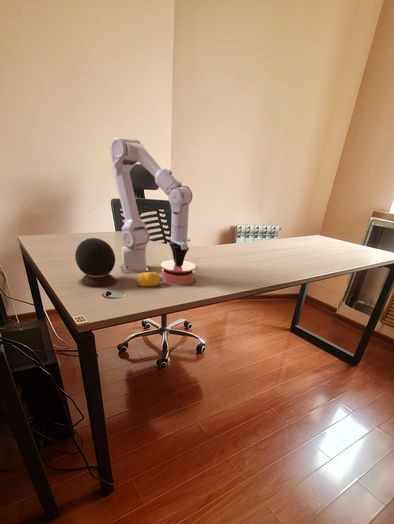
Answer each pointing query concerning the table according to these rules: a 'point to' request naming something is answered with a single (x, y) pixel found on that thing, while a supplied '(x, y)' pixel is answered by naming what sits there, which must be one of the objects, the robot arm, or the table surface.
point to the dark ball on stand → (95, 262)
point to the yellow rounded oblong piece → (148, 279)
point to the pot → (177, 277)
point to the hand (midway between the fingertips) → (178, 264)
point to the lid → (174, 268)
